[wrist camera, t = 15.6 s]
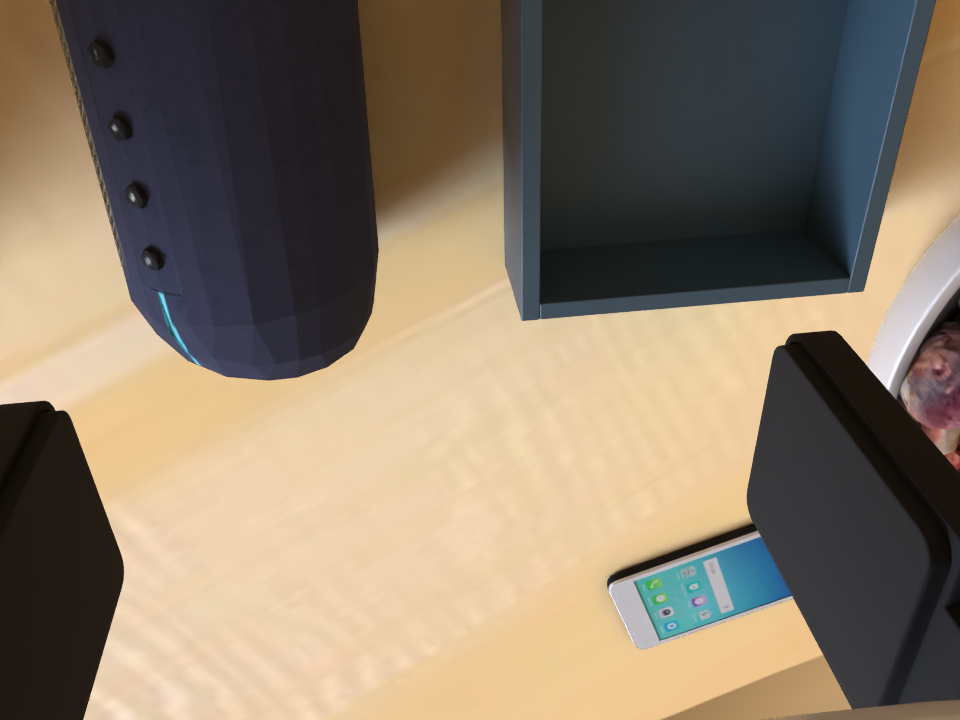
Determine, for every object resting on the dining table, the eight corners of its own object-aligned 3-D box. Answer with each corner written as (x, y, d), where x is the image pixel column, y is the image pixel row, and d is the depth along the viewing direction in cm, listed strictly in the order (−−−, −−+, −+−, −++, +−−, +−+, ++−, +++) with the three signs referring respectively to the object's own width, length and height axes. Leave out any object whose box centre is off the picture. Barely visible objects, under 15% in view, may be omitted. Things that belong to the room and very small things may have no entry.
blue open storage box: (505, 265, 42) (521, 321, 38) (499, -66, 34) (520, -43, 30) (813, 240, 44) (864, 292, 39) (879, -85, 35) (953, -65, 31)
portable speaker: (4, -405, 27) (-151, -484, 19) (325, -404, 28) (311, -479, 20) (172, 294, 41) (125, 424, 33) (383, 281, 42) (389, 403, 34)
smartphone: (606, 586, 55) (838, 504, 53) (603, 575, 55) (831, 494, 54) (637, 652, 59) (853, 579, 57) (634, 642, 60) (847, 569, 58)
